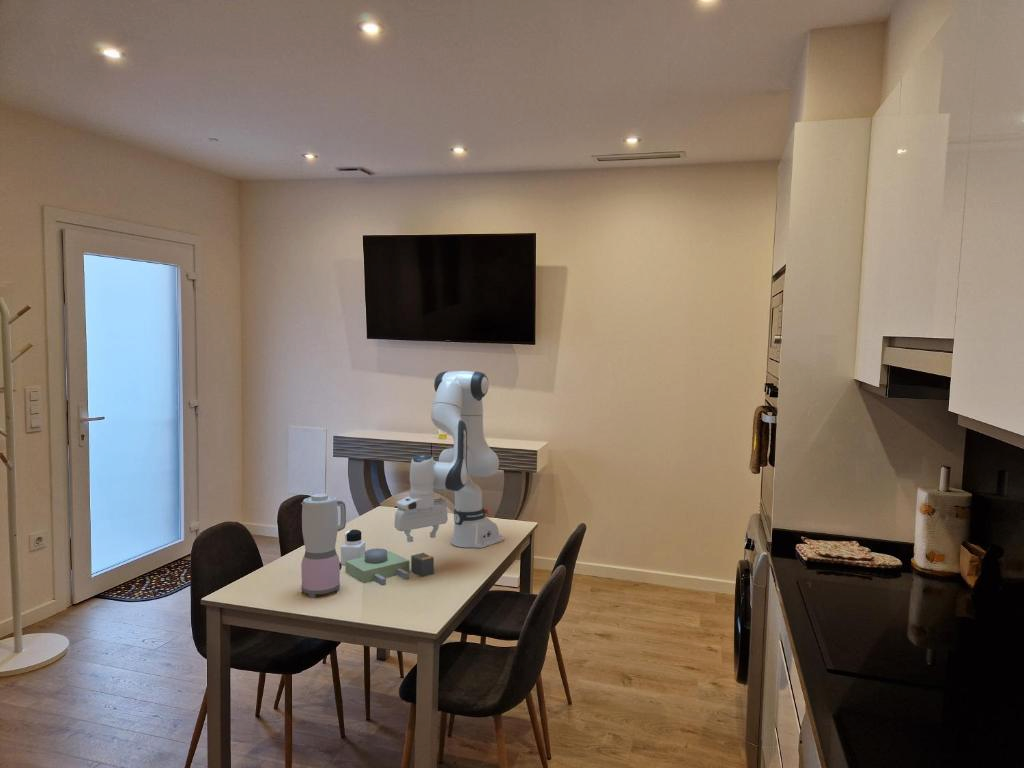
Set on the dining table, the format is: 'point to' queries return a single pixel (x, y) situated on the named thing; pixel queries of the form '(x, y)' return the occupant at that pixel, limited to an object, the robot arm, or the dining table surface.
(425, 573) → the grey block yellow strip
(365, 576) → the green piece
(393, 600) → the dining table surface
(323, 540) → the blender
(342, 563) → the medicine bottle
